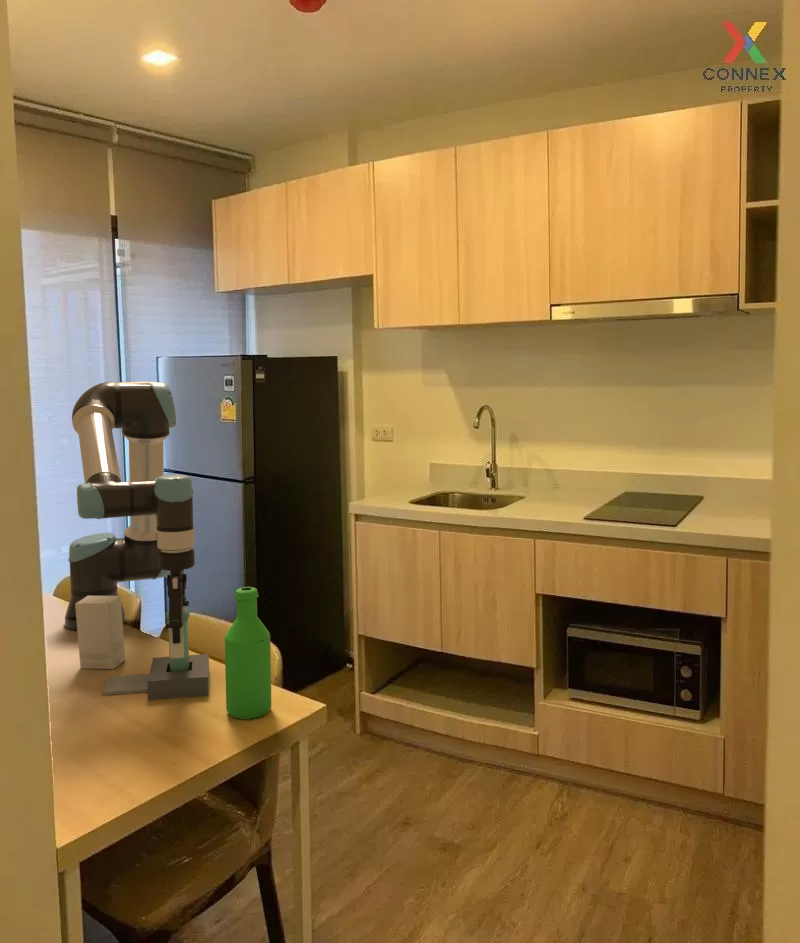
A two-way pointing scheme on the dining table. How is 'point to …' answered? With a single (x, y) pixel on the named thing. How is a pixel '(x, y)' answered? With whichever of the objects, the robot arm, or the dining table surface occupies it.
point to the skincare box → (100, 632)
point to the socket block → (178, 678)
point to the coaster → (126, 684)
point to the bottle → (247, 660)
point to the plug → (183, 663)
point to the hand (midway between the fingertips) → (178, 646)
